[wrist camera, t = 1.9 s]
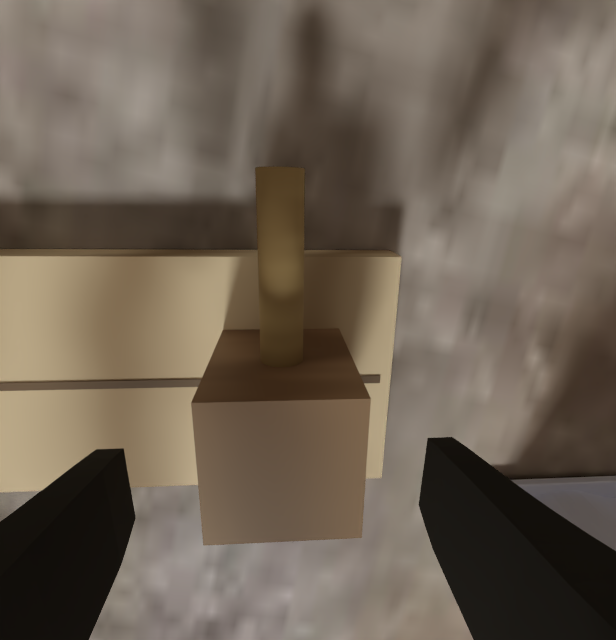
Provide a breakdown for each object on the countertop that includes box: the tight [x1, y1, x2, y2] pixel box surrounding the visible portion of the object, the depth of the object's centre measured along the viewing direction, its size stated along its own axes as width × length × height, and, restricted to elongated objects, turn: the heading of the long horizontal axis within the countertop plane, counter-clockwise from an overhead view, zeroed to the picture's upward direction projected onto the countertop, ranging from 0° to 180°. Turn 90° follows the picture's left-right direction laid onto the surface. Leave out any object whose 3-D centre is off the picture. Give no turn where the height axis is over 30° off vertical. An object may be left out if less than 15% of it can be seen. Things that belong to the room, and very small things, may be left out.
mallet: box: [191, 167, 371, 545], centre depth 11 cm, size 4×9×5 cm, turn 179°
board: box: [0, 249, 402, 492], centre depth 14 cm, size 18×9×2 cm, turn 89°
